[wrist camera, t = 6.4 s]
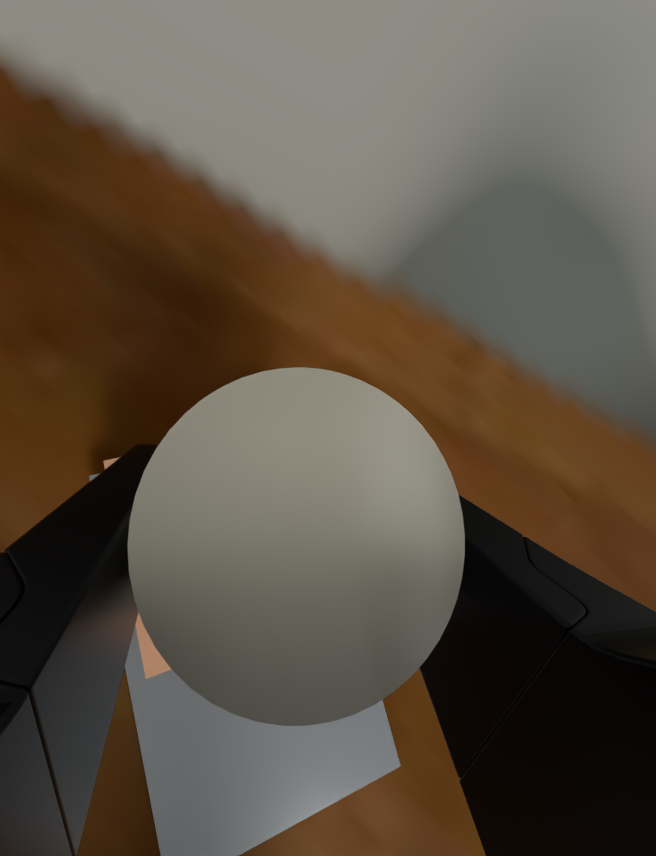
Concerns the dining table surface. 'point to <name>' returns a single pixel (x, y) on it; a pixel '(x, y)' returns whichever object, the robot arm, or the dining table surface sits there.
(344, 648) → the candle
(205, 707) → the candle stand
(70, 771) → the robot arm
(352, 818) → the dining table surface
